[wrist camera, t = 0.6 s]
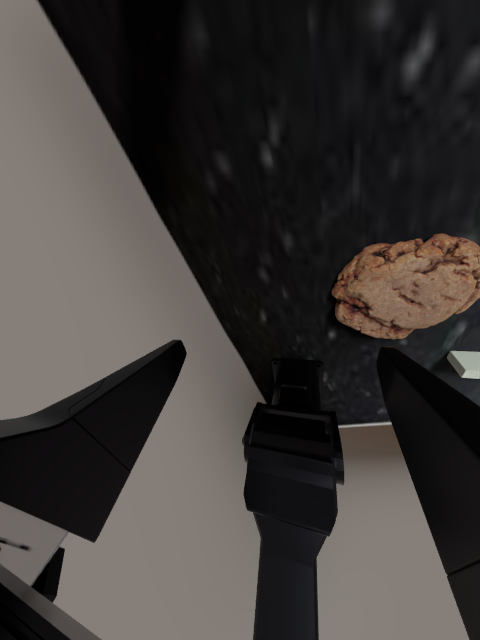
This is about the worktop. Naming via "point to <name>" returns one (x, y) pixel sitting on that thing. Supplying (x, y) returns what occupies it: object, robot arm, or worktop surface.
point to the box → (465, 363)
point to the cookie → (407, 285)
